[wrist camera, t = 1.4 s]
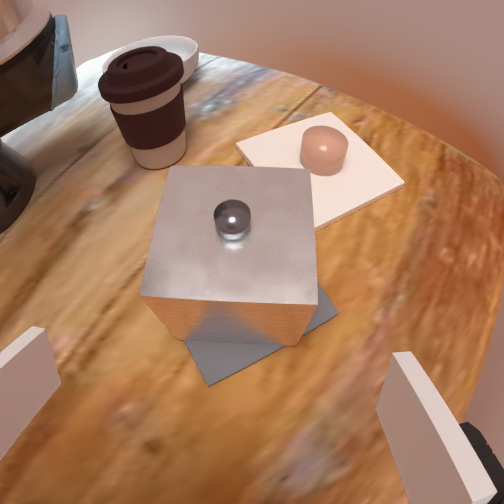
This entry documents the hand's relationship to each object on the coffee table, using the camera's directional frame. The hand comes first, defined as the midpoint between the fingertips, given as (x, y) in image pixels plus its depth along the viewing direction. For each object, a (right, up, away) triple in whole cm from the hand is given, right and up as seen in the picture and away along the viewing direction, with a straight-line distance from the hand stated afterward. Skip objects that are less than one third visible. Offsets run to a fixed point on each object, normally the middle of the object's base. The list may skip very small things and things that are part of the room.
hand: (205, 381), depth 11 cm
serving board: (+10, +16, +30) cm, 35 cm away
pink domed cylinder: (+10, +16, +29) cm, 34 cm away
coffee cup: (-11, +18, +31) cm, 38 cm away
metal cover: (0, +1, +21) cm, 21 cm away
